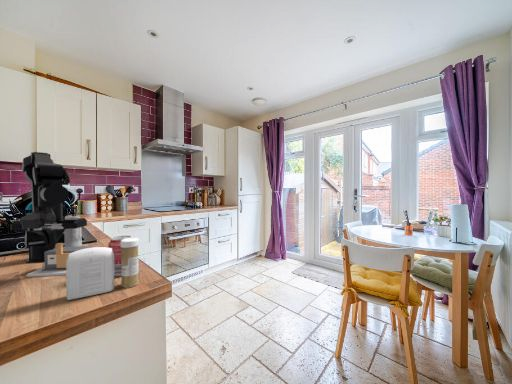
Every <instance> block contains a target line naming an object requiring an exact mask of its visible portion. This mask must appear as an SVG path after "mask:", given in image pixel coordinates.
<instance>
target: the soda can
mask: <svg viewBox="0 0 512 384" xmlns="http://www.w3.org/2000/svg"><path fill="white" fill-rule="evenodd" d="M127 238H132V236H131V235H117V236H113V237H111V238H110V241H109V243H108V246H107V248H112V251H113V253H114V278H116V277H117V278H119V277H120V278H121V277H122V275H121V259H122V255H121V253H122V251H121V240H123V239H127Z"/></svg>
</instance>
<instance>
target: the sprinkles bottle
mask: <svg viewBox="0 0 512 384" xmlns="http://www.w3.org/2000/svg"><path fill="white" fill-rule="evenodd" d="M139 242H140V241H139V238H138V237H131V238H127V239H123V240H121V251H122V253H121V255H122V259H121V275H122V276H121V284H120V286H121V288H125V289H127V288H132V287H135V286H137V285H139V283H140V281H139V244H140V243H139Z"/></svg>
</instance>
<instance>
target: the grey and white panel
mask: <svg viewBox="0 0 512 384" xmlns="http://www.w3.org/2000/svg"><path fill="white" fill-rule="evenodd" d="M86 248H92V245H82V246H76V247H65V246H63V253H72V252H75V251H78V250H81V249H86ZM44 257H45V261H44V266H42V267H40V268H39V269H36V270H34V271H32V272H29V273H27V274H26V277H27V278H31V277H34V278H35V277H50V276H52V277H53V276H66V268H57V263H56V249H55V248H54V249H53V250H49V251H46V252H44Z"/></svg>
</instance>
